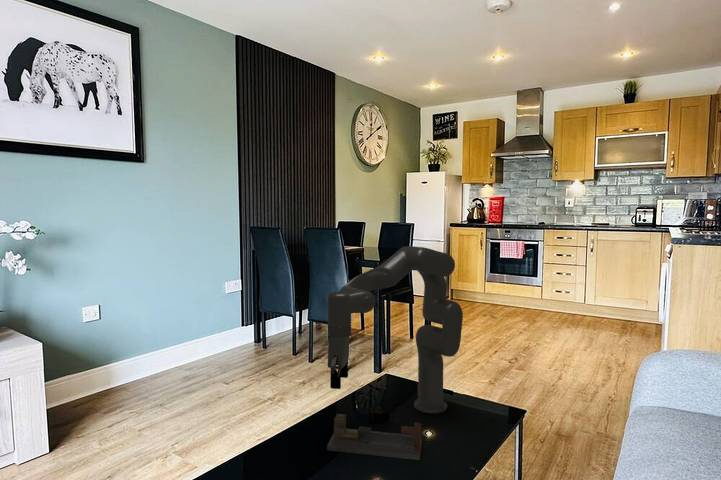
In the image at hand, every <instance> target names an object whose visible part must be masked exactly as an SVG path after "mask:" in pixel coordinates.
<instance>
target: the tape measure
mask: <svg viewBox="0 0 721 480" xmlns="http://www.w3.org/2000/svg"><path fill="white" fill-rule="evenodd" d="M368 418H369V419H370V421H372V422H375V423H383V422H386V421H389V420H390V418H391V415H390V413H389V412H388V411H387V410H386V408H384V406H373V407H371V408H369V411H368Z"/></svg>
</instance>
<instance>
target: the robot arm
mask: <svg viewBox="0 0 721 480" xmlns="http://www.w3.org/2000/svg"><path fill="white" fill-rule="evenodd" d="M454 259H455V258H453V256H452V255H450V254H449V253H447V252H443V251H439V250H434V249H431V248H427V247H422V246H414V245H413V246H411V245H408V246H407V245H406V246H403V247H401V248H399V249H398V250H397V251H396V252H395V253H393V254H392V255H391V256H390V257H389V258H387V259H386V260H385V261H384V262H382V263H381V264H379V266H377V267H375V268H371V269H369V270H367V271H365V272H363V273H361V274H359V275H356V276H354V277H353V278H352V279H350V280H349V281H348V282H347V283H345V284H344V285H343V286H342V287H341V288H340V290H337V291H336V290H335V291H331V292H329V294H328V295H327V336H328V339H329V340H328V348H327V349H328V350H327V367H328V369H330V374H329V376H330V379H329V383H330V387H329V388H330V389H332V390H333V389H334V390H340V389H341V388H342V385H341V384H342V378H345V379H347V378H348V377H349V357H350V340H349V339H350V338H349V337H351V335H352V315H353V314H366V313H369V312H371V311H372V310H373V309H374V308H375V306H376V297H375V295H374V294H373V293H372V291H376V290H381V289H383V290H384V289H388V288H391V287H394V286H396V285H397V284H398V283H399V282H400V281H401V280H402V279H403V278H404V277H406V275H408V274H409V273H410V272H412V271H416V272H418V274H419V275H420V276H421V278H422V280H423V286H424V289H423V299H422V311H421V312H422V313H421V314H422V317H423V319H424V320H426V321H427V322H430V323H432V324H433V323H434V324H437V325H441V326H440V327H439V326H436V325H432V324H424V325H422V326H420V327H419V328H418V329H417V331H416V334H415V344H416V350H417V359H418V360H417V365H418V367H417V369H418V370H417V371H418V372H417V375H418V376H417V378H418V379H417V395H418V396H417V399H415V400H414V402H413V407H414V409H416V410H417V411H419V412H421V413H424V414H440V413H444V412H446V410H447V409H448V404H447V403H448V402H446V401H445V400H444V359H443V356H444V357H447V358H449V357H453V356H455V355H456V354H457V353H458V352H459V349H460V346H461V339H462V332H463V331H462V329H463V317H464V313H463V308H462V307H461V305H460V304H459V303H458V302H456V301H455V300H451V299H448V298H447V290H448V285H447V280H446V278H445V277H449V276H451V274H453V272H455V267H456V262H455V260H454Z"/></svg>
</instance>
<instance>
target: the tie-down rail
mask: <svg viewBox="0 0 721 480" xmlns="http://www.w3.org/2000/svg"><path fill="white" fill-rule="evenodd" d="M351 429H352V430H357V429H353V428H351ZM331 435H332V436H331V437H330V439H329V442H328V443H327V445H326V451H331V452H340V453H348V454H349V453H350V454H351V453H352V454H360V455H367V456H377V457H385V458H395V459H405V460H412V461H420V460H421V452H422V451H421V450H422V445H423V440H422V423H421V422H414V425H413V426H409V425H401V429H400V433H395V432H394V433H393V432H383V431H377V430H376V431H375V430H371V432H370V435H365V434H361V438H360V441H358V440H348V439H339V438H334V433H333V434H331Z"/></svg>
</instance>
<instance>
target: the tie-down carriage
mask: <svg viewBox="0 0 721 480" xmlns="http://www.w3.org/2000/svg"><path fill="white" fill-rule="evenodd" d="M352 429H353V428H347V414H344V413H343V414H342V413H336V415H335V417H334V418H333V434H334V438H339V439H348V440H358V441H360V438H361V434H365V435H370V432H371V431H372V426H371V427H370V426H358V427H357V429H356V430H352Z"/></svg>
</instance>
